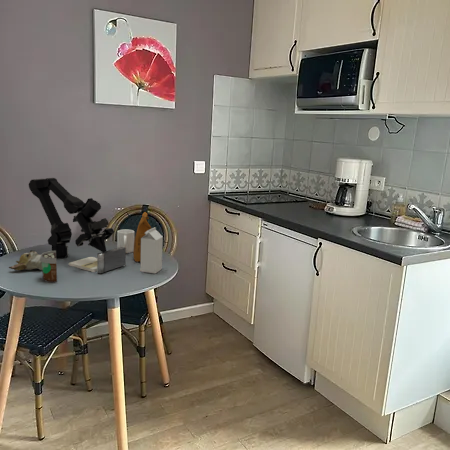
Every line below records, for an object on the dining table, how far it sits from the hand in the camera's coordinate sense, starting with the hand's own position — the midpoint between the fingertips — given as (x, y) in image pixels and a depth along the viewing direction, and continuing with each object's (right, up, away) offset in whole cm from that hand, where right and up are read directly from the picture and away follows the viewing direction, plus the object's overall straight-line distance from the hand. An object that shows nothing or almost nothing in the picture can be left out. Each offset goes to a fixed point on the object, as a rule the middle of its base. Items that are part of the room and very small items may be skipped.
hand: (105, 252), depth 199 cm
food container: (-19, -10, -15) cm, 26 cm away
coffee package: (+13, -5, +19) cm, 24 cm away
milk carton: (+20, -8, +2) cm, 21 cm away
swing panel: (+2, -7, 0) cm, 8 cm away
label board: (-7, -6, +5) cm, 11 cm away
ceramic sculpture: (-30, -7, -5) cm, 32 cm away
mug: (+2, -2, +29) cm, 29 cm away
